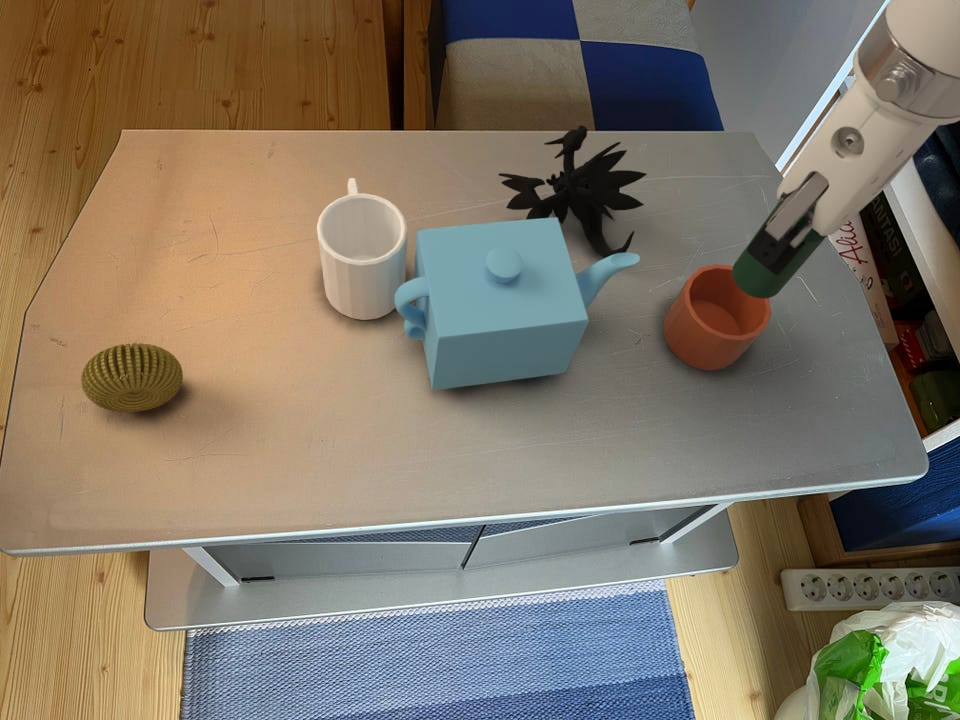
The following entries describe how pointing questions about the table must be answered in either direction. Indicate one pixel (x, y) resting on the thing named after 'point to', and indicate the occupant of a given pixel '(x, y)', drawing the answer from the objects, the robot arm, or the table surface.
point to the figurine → (579, 190)
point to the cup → (714, 319)
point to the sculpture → (132, 377)
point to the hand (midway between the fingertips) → (783, 244)
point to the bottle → (759, 278)
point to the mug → (362, 253)
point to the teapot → (499, 300)
